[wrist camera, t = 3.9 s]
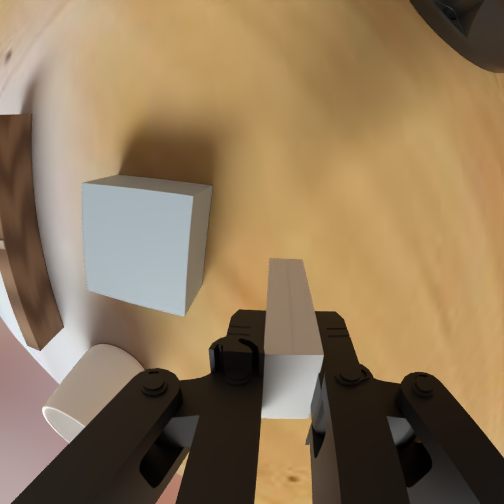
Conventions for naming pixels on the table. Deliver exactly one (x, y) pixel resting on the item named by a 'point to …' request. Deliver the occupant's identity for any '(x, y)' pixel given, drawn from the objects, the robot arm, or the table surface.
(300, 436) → the table surface
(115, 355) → the mug
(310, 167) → the table surface
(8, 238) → the board
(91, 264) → the block
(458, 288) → the table surface
